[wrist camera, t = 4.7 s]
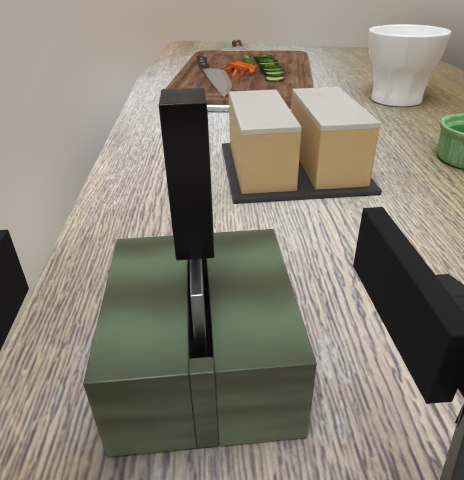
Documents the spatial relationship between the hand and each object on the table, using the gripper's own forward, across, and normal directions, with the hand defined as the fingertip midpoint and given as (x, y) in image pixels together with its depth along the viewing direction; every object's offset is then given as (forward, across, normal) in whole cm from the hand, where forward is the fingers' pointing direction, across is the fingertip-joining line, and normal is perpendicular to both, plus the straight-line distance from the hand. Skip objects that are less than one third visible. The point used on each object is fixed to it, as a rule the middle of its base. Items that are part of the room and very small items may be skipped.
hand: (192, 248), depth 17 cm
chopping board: (+79, +11, -13) cm, 81 cm away
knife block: (+6, 0, -13) cm, 14 cm away
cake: (+34, +12, -13) cm, 39 cm away
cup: (+60, +35, -13) cm, 71 cm away
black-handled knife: (+6, 0, -13) cm, 14 cm away
